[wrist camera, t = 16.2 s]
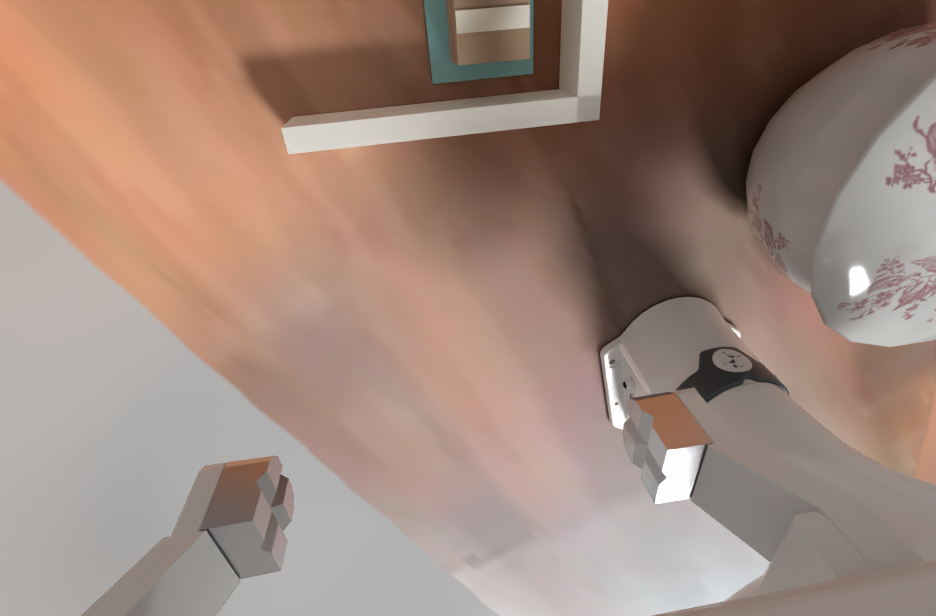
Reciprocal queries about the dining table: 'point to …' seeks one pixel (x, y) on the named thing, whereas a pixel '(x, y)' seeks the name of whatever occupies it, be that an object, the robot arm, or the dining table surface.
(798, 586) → the robot arm
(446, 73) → the pad
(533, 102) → the white l-shaped bracket
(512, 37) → the cube
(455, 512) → the dining table surface
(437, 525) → the dining table surface
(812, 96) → the chamber pot
